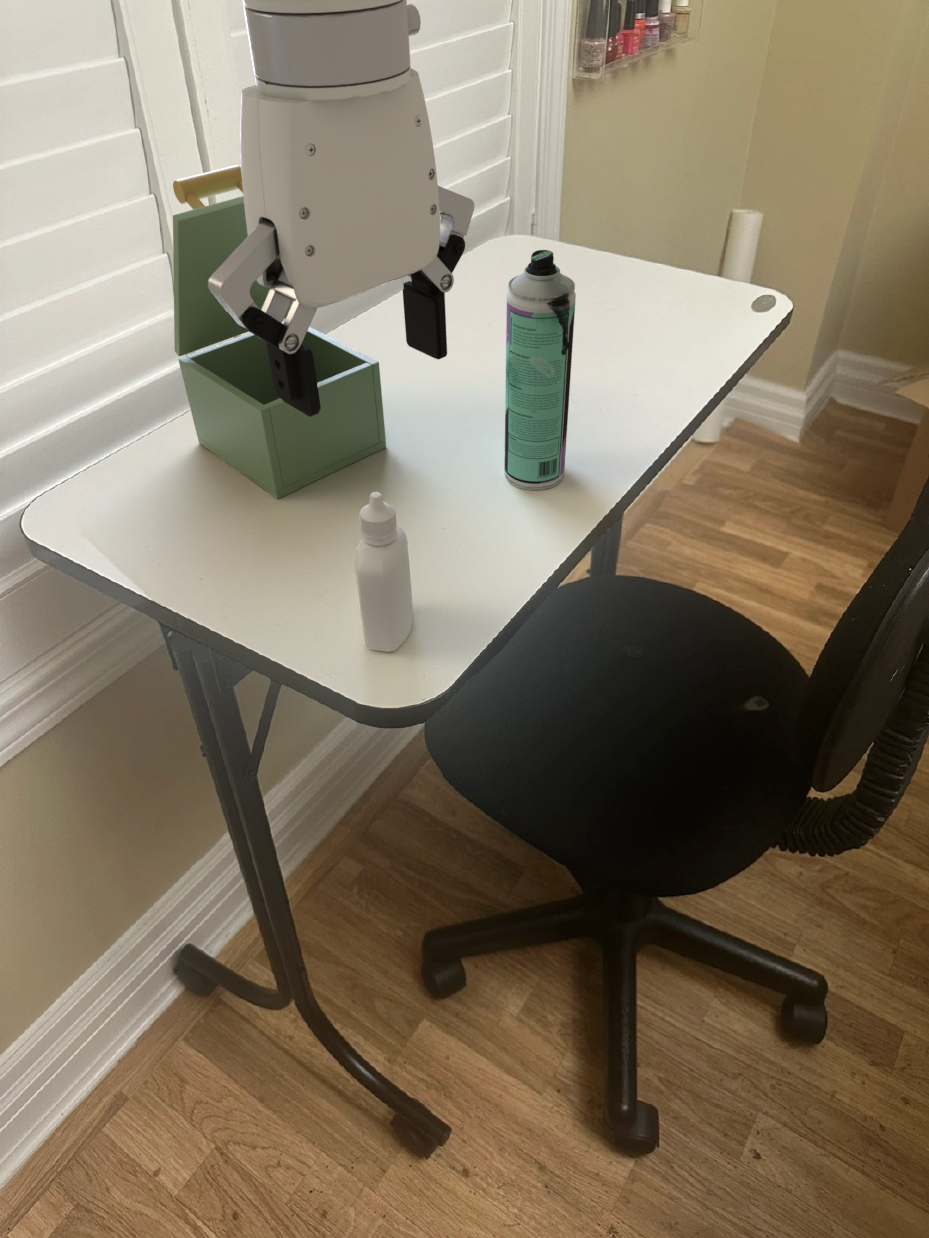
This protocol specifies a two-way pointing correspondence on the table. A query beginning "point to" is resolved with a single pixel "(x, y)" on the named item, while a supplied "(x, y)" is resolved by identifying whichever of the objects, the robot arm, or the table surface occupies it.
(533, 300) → the spray can
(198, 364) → the chest
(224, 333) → the lid
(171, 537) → the table surface
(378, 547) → the eye dropper bottle
